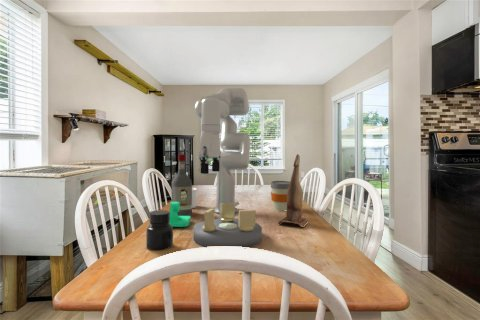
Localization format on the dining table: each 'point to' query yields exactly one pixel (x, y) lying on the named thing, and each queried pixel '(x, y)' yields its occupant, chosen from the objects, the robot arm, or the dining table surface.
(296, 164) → the bird sculpture
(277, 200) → the reusable coffee cup
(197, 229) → the tribrach base
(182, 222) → the camera mount
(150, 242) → the ink bottle
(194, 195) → the white cup
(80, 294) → the dining table surface
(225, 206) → the footscrew knob
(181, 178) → the liquor
